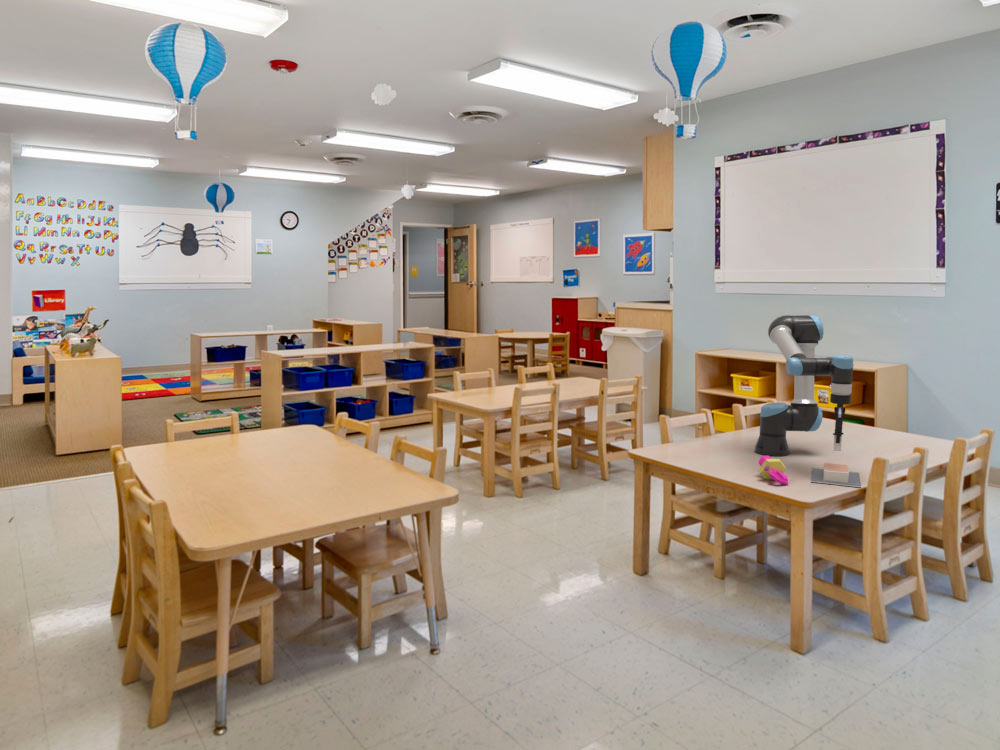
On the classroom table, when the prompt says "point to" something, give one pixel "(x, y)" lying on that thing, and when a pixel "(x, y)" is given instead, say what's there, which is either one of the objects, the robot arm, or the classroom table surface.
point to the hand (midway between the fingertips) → (837, 450)
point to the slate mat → (818, 477)
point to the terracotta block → (836, 472)
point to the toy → (772, 469)
